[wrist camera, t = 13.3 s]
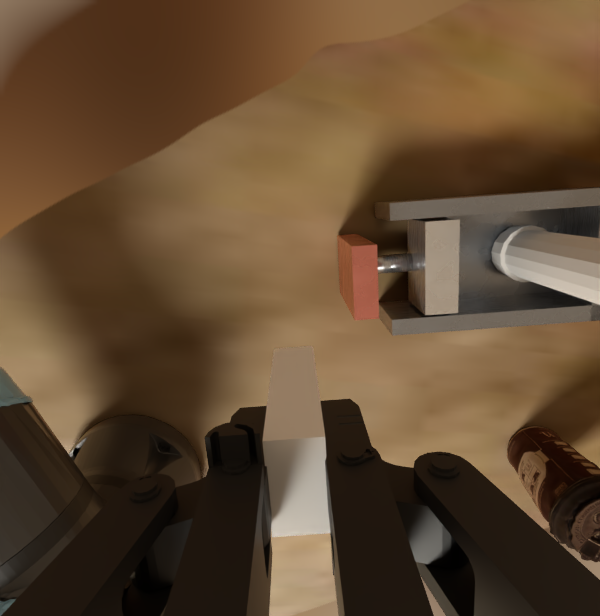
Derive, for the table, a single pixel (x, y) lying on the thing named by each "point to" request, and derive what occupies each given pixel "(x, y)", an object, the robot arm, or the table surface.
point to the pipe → (550, 260)
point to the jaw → (404, 268)
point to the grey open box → (480, 269)
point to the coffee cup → (560, 487)
